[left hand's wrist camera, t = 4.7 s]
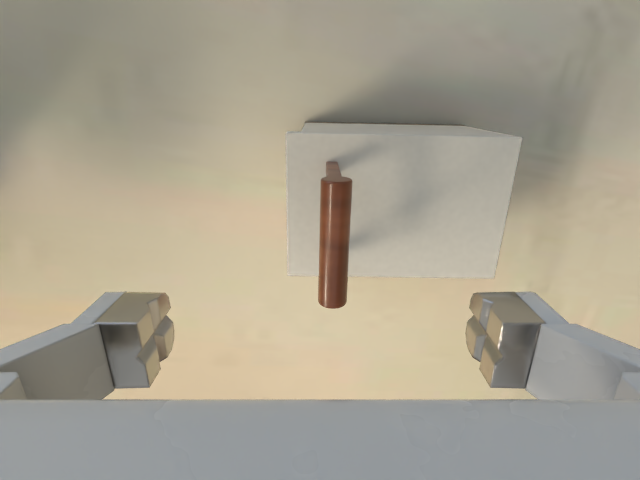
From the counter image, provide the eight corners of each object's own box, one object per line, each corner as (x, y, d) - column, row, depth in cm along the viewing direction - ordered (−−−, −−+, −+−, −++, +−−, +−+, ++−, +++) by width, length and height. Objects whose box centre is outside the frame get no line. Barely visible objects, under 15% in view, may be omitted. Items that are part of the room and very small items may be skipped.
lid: (288, 270, 27) (277, 333, 20) (286, 131, 24) (273, 146, 16) (488, 272, 27) (550, 337, 20) (515, 135, 24) (601, 152, 16)
